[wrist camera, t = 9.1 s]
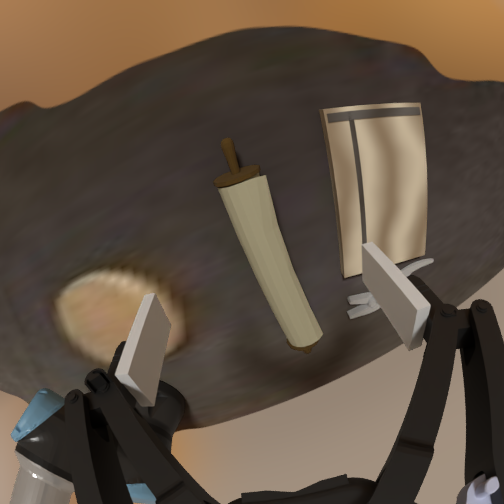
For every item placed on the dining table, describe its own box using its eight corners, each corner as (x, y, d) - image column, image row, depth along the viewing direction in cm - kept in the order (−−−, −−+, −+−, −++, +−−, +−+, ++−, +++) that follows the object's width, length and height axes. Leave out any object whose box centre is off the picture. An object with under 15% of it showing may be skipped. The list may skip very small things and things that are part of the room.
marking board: (340, 272, 37) (344, 278, 35) (318, 109, 27) (323, 109, 26) (419, 250, 36) (425, 255, 35) (413, 102, 27) (420, 103, 25)
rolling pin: (201, 146, 29) (195, 152, 24) (249, 127, 28) (253, 129, 24) (289, 347, 43) (294, 371, 38) (322, 336, 42) (330, 358, 38)
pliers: (426, 310, 40) (348, 334, 41) (422, 305, 42) (345, 327, 42) (436, 260, 36) (350, 283, 36) (431, 256, 37) (346, 276, 38)
